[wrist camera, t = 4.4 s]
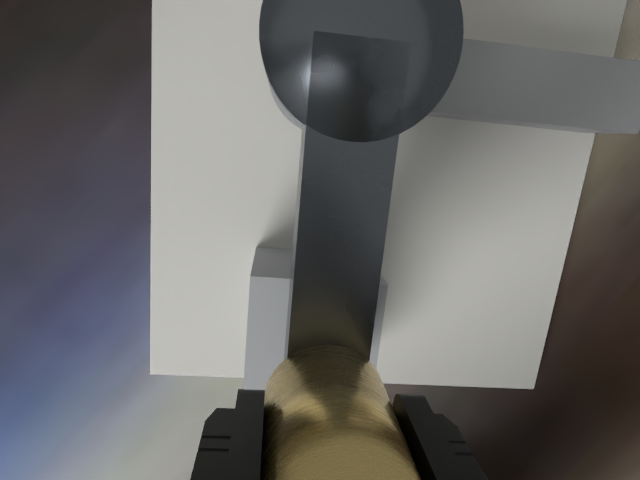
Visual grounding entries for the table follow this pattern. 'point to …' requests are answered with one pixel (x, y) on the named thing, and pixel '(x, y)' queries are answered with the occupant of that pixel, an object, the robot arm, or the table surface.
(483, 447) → the table surface
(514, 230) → the base
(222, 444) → the robot arm
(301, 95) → the bar
